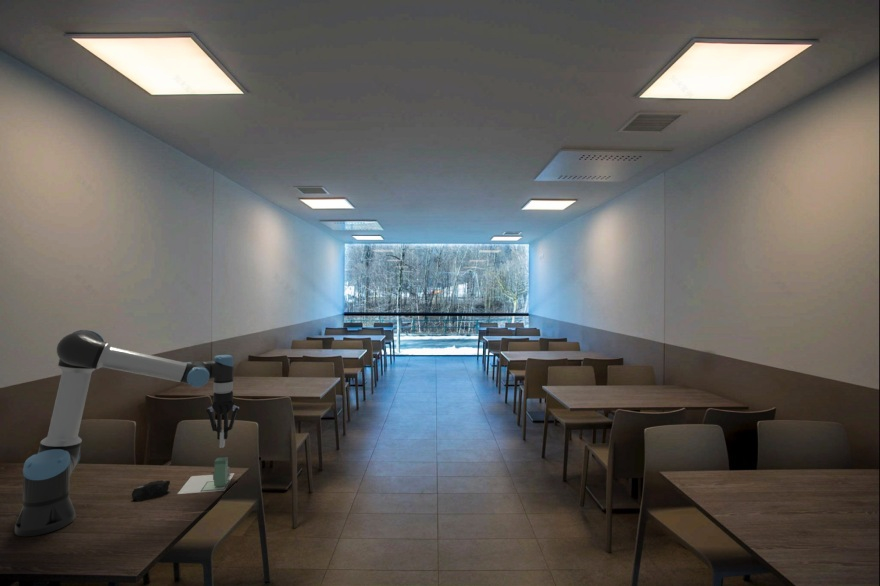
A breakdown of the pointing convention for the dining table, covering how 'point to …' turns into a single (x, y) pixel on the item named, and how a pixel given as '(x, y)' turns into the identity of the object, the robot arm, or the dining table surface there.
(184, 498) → the dining table surface
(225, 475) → the green rectangular block
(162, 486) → the rock
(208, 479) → the board
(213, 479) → the button housing
